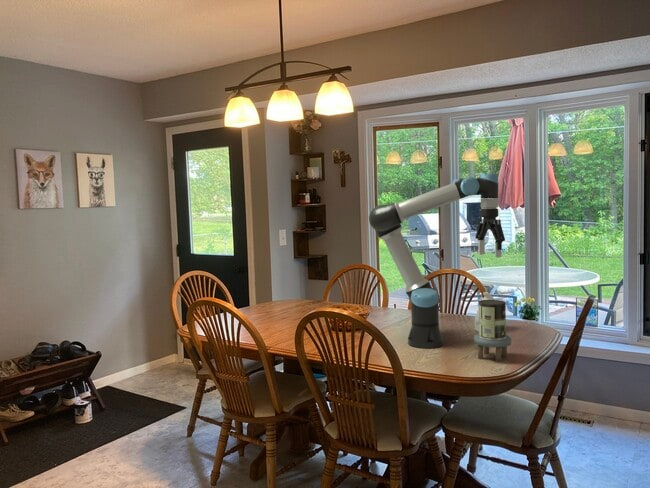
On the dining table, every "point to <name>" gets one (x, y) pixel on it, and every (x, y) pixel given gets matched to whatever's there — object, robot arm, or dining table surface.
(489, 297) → the white tapered piece
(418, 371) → the dining table surface
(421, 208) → the robot arm
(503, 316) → the coffee can
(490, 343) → the stool
